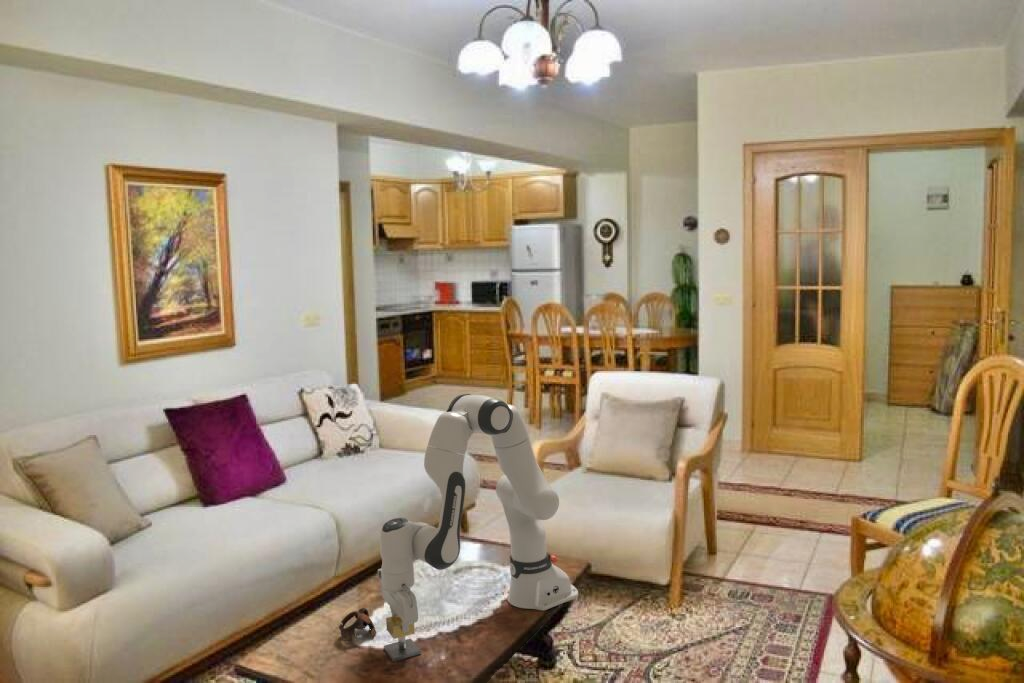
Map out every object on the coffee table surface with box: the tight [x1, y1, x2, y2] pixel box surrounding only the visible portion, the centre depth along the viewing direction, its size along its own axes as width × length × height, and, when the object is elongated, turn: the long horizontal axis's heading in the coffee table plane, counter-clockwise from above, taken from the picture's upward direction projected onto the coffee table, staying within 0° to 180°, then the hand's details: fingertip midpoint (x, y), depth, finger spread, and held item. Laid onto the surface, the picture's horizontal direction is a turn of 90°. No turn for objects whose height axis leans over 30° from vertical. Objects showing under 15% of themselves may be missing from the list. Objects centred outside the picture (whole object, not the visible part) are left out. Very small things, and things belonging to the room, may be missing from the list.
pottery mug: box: [338, 607, 377, 639], centre depth 239 cm, size 12×10×8 cm
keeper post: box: [383, 636, 422, 663], centre depth 228 cm, size 8×8×6 cm
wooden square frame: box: [385, 615, 416, 640], centre depth 227 cm, size 6×6×4 cm
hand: (400, 625), depth 227 cm, fingers closed on wooden square frame, 6 cm apart
